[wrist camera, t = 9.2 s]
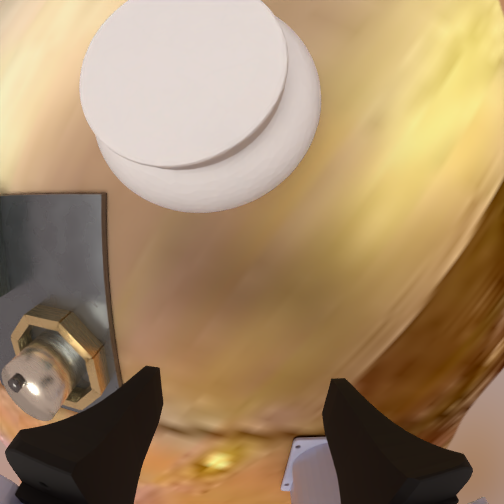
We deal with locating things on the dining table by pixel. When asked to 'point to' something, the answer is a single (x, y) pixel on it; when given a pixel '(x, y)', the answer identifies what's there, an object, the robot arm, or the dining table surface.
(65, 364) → the spout can
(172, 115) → the pill bottle
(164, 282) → the dining table surface
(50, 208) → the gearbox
